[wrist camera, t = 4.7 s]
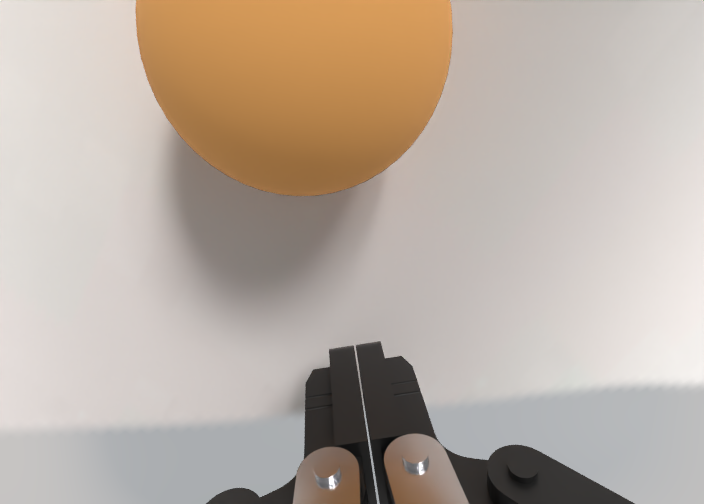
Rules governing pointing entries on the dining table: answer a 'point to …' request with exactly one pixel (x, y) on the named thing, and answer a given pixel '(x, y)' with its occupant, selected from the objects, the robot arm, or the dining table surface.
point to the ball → (297, 84)
